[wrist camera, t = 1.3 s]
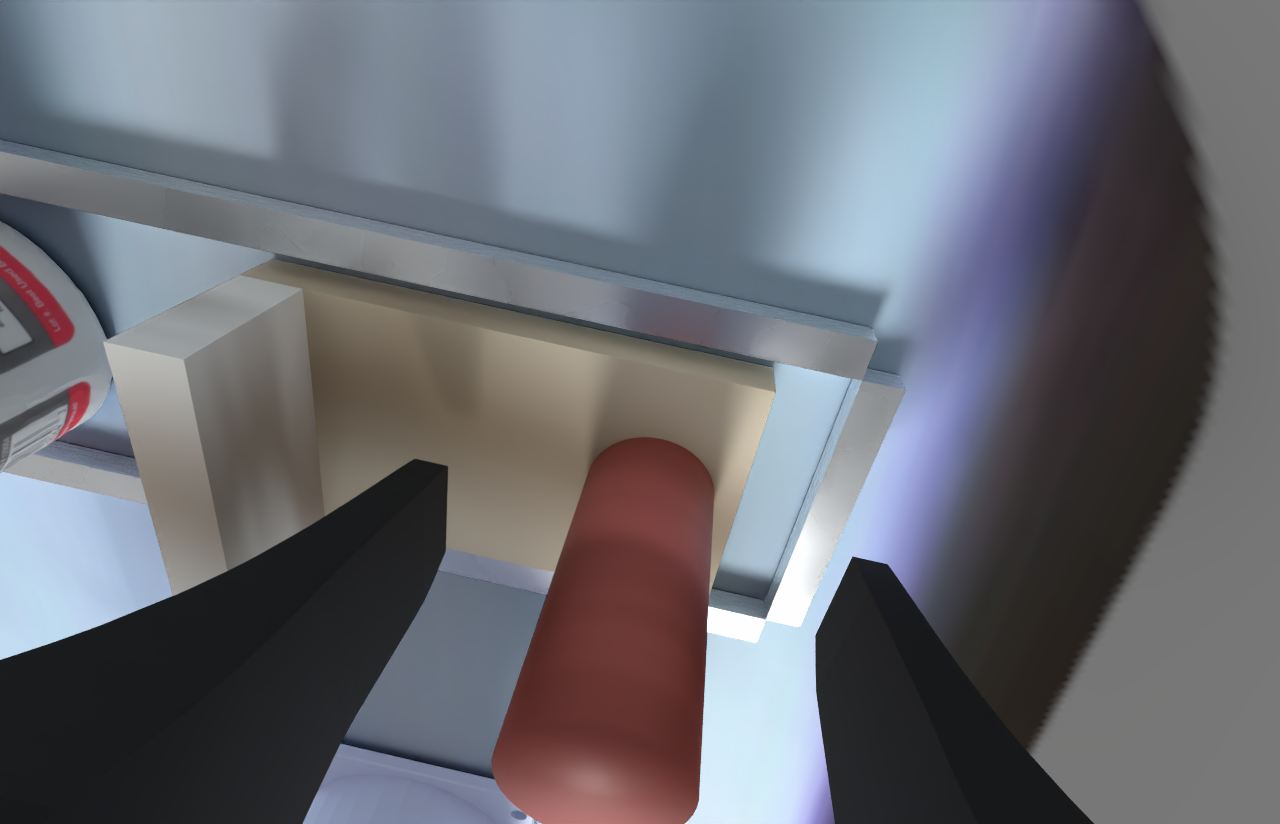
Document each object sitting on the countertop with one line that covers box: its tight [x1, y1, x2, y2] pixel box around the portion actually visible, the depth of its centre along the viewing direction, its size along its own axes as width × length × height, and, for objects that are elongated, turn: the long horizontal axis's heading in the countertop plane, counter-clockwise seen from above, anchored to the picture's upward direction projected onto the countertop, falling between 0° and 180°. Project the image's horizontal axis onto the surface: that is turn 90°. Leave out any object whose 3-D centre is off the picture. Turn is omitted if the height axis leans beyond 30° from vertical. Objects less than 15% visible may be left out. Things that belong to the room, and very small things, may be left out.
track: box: [0, 140, 905, 643], centre depth 14 cm, size 8×22×1 cm, turn 81°
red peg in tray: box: [103, 259, 776, 824], centre depth 11 cm, size 6×10×7 cm, turn 81°
